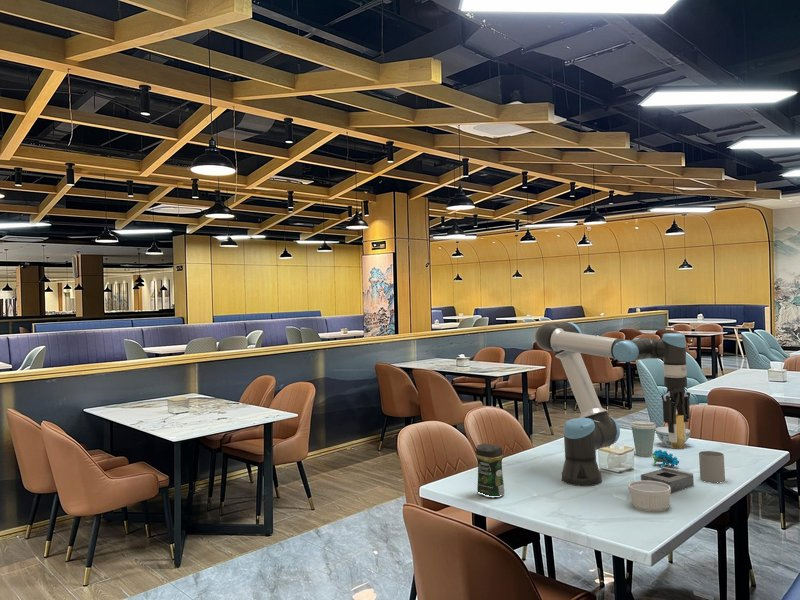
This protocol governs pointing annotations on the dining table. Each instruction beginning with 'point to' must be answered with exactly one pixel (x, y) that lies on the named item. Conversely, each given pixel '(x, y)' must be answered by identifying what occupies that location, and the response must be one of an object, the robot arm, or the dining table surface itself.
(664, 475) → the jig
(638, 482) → the ramekin
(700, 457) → the cup
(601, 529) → the dining table surface
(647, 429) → the disposable coffee cup
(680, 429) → the brass cylinder peg
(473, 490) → the dining table surface
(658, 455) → the gear
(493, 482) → the coffee jar
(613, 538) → the dining table surface
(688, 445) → the dining table surface
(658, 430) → the chinaware
